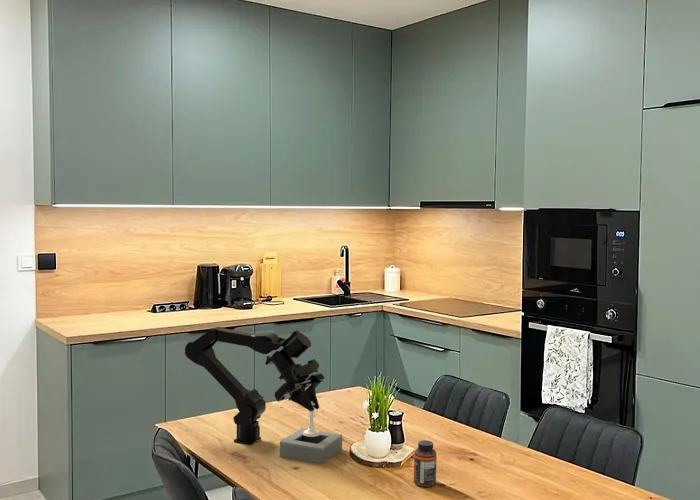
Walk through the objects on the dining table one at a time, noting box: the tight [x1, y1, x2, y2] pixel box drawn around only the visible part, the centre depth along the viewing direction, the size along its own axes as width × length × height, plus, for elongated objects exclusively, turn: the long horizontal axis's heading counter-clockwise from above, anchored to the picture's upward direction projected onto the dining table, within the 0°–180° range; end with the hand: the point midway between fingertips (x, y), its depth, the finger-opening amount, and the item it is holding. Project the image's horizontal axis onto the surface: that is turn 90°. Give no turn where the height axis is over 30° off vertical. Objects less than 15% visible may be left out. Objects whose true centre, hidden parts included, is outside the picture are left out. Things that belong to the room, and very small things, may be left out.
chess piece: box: [303, 401, 320, 437], centre depth 209 cm, size 5×5×10 cm
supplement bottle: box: [413, 439, 438, 488], centre depth 187 cm, size 6×6×11 cm
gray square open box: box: [279, 428, 343, 465], centre depth 209 cm, size 14×14×4 cm
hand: (315, 409), depth 208 cm, fingers open, 2 cm apart
